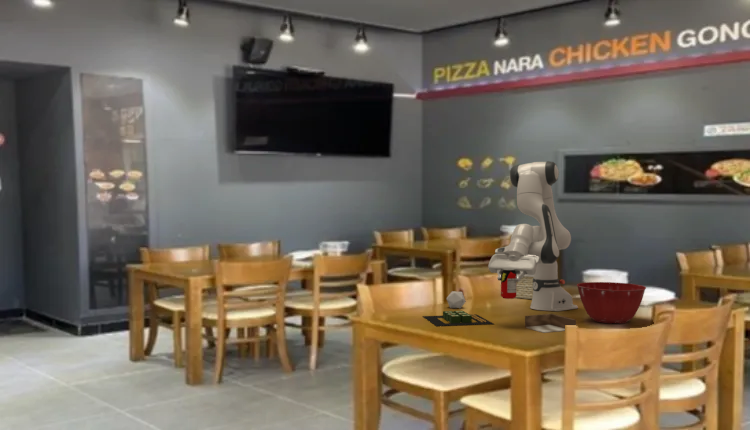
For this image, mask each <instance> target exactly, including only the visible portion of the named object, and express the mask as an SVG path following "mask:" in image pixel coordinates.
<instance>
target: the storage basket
mask: <svg viewBox="0 0 750 430" xmlns="http://www.w3.org/2000/svg"><path fill="white" fill-rule="evenodd" d="M518 275H519V274H517V276H518ZM533 278H534V275H526V274H525V275H524V276H523V277H522V278H521V279H520V282H516V297H515V298H514V299H523V300H532V297H533Z"/></svg>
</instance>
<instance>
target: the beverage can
mask: <svg viewBox="0 0 750 430" xmlns="http://www.w3.org/2000/svg"><path fill="white" fill-rule="evenodd" d="M516 276H517V274H516V272H515V269H503V271H502V272H501V281H500V297H501V298H502V299H505V300H509V299H510V300H512V299H516V298H515V297H516V280H515V278H516Z"/></svg>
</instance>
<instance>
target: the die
mask: <svg viewBox="0 0 750 430" xmlns="http://www.w3.org/2000/svg"><path fill="white" fill-rule="evenodd" d="M446 302H447V304H448V306H449V309H457V308H459V309H462V307H463V306H464V304H465V303H466V298H465V296H464V294H463V291H455V290H454V291H453V290H452V291H451V292H450V293H449V294H448V296H447V297H446Z"/></svg>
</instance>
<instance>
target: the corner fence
mask: <svg viewBox="0 0 750 430" xmlns="http://www.w3.org/2000/svg"><path fill="white" fill-rule="evenodd" d="M565 325H576V326H577V319H574V318H570V317H567V316H562V315H558V314H554V313H545V314H533V315H531V314H530V315H525V316H524V327H525V328H526V329H529V330H533V331H535V332H539V333H543V334H545V333H553V332H554V333H555V332H566V331H565Z"/></svg>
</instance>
